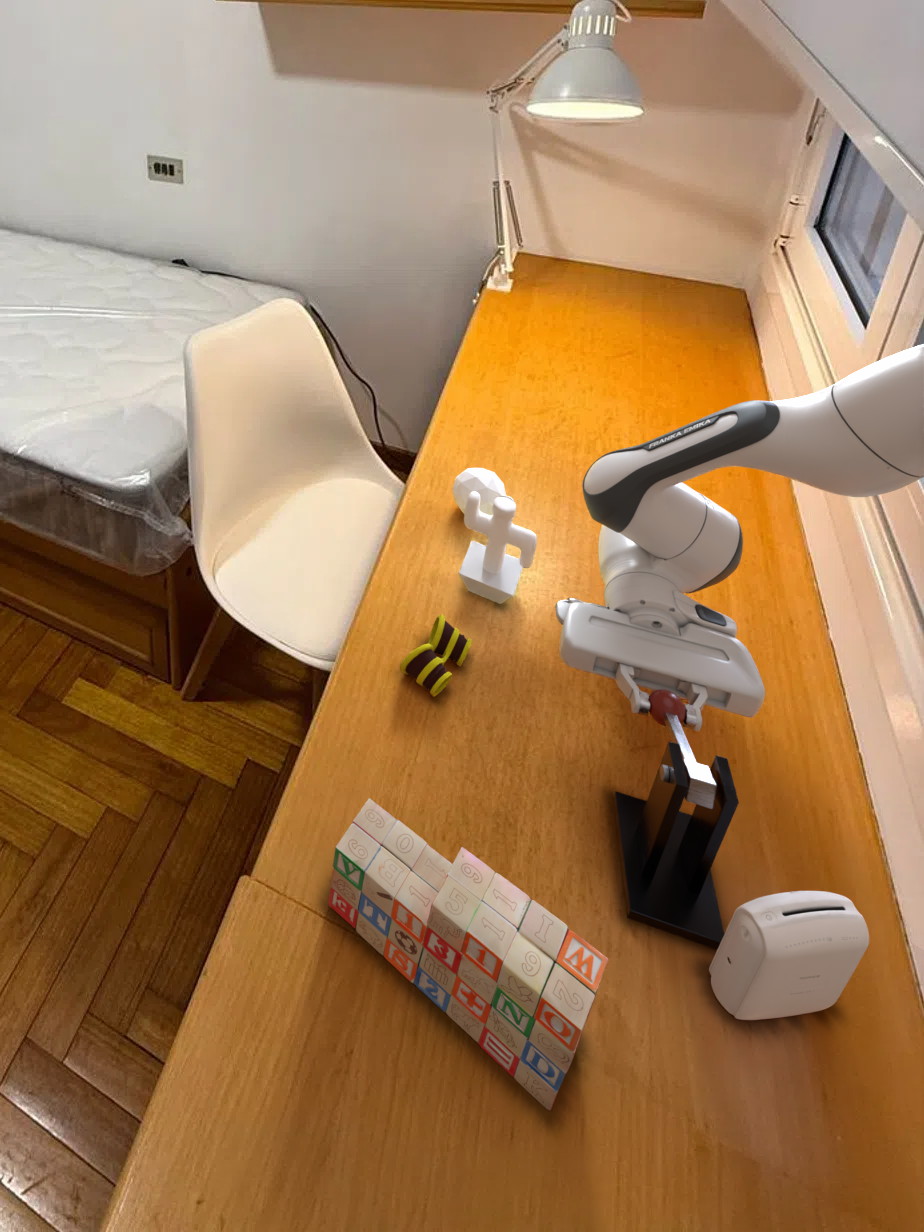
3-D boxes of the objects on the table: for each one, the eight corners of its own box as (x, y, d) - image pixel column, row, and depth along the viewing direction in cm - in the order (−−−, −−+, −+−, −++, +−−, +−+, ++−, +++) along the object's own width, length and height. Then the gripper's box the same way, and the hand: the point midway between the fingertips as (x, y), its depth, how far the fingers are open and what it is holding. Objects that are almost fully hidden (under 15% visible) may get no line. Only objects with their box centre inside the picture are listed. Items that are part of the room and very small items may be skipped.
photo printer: (731, 1028, 72) (773, 945, 67) (697, 968, 76) (735, 885, 71) (841, 1014, 73) (890, 931, 68) (802, 956, 77) (846, 873, 72)
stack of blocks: (325, 906, 80) (336, 824, 75) (359, 854, 84) (372, 774, 79) (551, 1114, 67) (583, 1031, 62) (579, 1040, 71) (610, 957, 66)
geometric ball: (458, 525, 131) (433, 481, 131) (496, 496, 133) (471, 453, 133) (487, 536, 124) (460, 490, 124) (526, 505, 126) (500, 460, 126)
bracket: (612, 797, 90) (644, 701, 84) (696, 824, 87) (735, 727, 81) (627, 918, 79) (665, 818, 74) (723, 952, 77) (770, 851, 71)
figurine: (517, 619, 111) (538, 532, 105) (446, 589, 116) (462, 504, 110) (528, 584, 117) (548, 499, 111) (460, 556, 121) (476, 473, 116)
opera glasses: (431, 708, 100) (445, 684, 97) (394, 676, 103) (406, 652, 100) (467, 658, 107) (480, 634, 104) (431, 628, 109) (443, 605, 107)
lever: (641, 708, 92) (646, 678, 92) (677, 719, 91) (683, 688, 91) (676, 804, 78) (683, 768, 77) (720, 818, 77) (727, 782, 76)
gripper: (559, 575, 103) (567, 667, 91) (750, 623, 97) (786, 728, 85) (549, 613, 105) (556, 707, 93) (735, 662, 99) (768, 770, 87)
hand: (667, 718), depth 89 cm, fingers closed on lever, 3 cm apart
